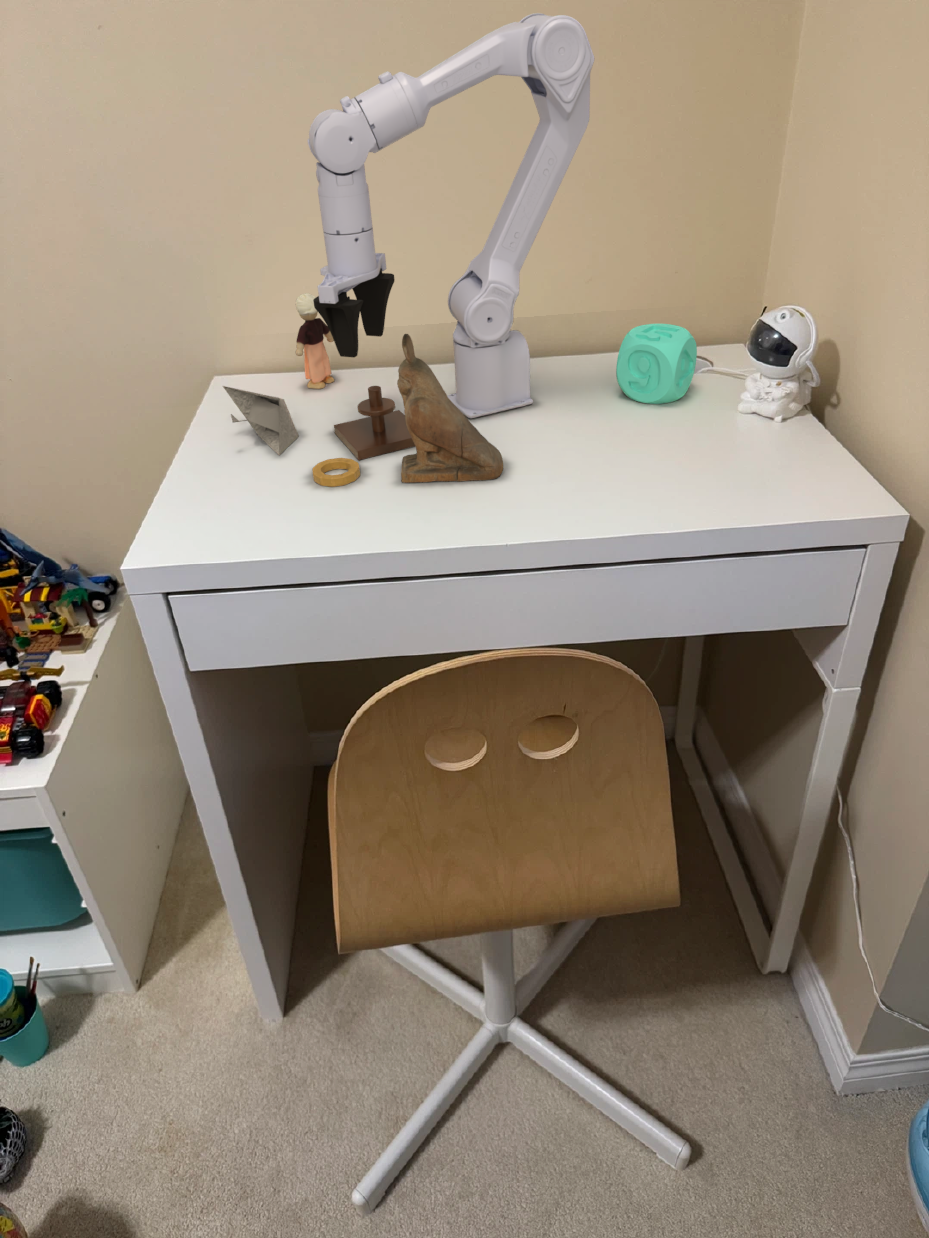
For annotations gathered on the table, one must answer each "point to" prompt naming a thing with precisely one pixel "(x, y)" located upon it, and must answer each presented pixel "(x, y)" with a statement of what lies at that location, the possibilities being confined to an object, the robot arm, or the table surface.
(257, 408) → the paper boat
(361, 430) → the peg stand
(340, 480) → the brass ring
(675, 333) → the decorative dice
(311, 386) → the grandmother figurine
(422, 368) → the worn brown figurine
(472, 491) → the table surface
